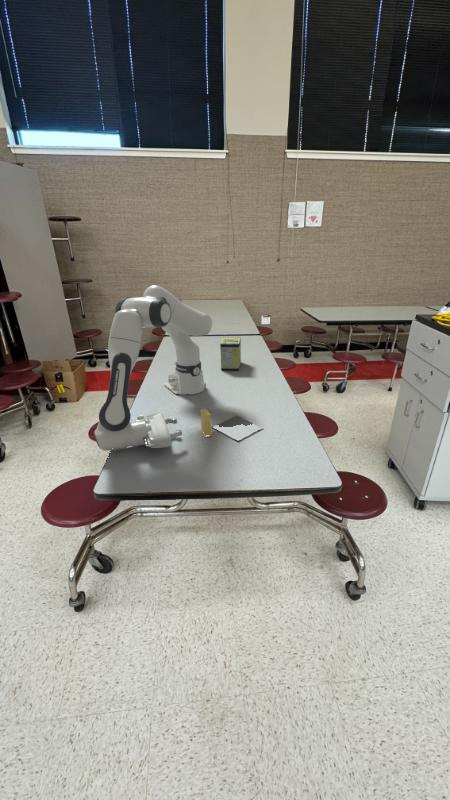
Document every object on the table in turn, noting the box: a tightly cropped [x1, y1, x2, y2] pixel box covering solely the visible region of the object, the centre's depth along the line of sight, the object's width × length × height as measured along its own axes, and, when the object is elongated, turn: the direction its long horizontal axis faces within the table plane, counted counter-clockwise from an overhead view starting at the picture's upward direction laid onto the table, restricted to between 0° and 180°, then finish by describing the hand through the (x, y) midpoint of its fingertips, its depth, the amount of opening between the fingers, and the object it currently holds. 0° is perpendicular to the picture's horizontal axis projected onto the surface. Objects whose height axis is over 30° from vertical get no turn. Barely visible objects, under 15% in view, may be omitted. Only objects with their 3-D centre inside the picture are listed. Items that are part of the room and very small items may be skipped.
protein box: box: [219, 336, 242, 372], centre depth 205 cm, size 10×16×16 cm
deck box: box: [200, 408, 212, 437], centre depth 138 cm, size 2×5×10 cm, turn 18°
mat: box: [216, 414, 254, 427], centre depth 143 cm, size 15×14×1 cm
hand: (179, 426), depth 135 cm, fingers open, 8 cm apart
